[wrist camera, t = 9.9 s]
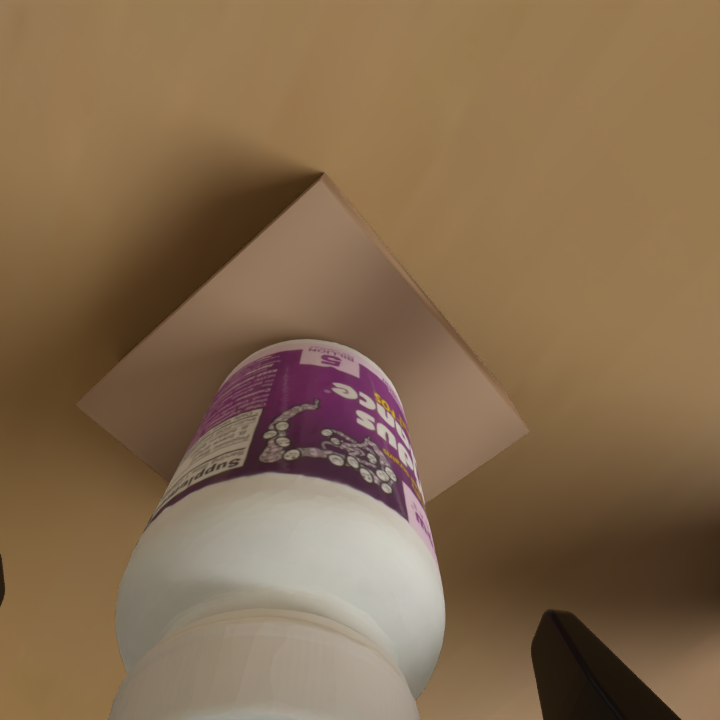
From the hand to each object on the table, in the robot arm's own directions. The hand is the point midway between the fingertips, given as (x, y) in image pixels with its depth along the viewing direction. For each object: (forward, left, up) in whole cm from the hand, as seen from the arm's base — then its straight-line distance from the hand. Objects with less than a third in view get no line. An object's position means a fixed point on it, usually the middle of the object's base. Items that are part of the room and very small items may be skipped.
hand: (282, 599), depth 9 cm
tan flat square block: (0, 0, -10) cm, 10 cm away
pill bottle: (0, 0, -7) cm, 7 cm away
